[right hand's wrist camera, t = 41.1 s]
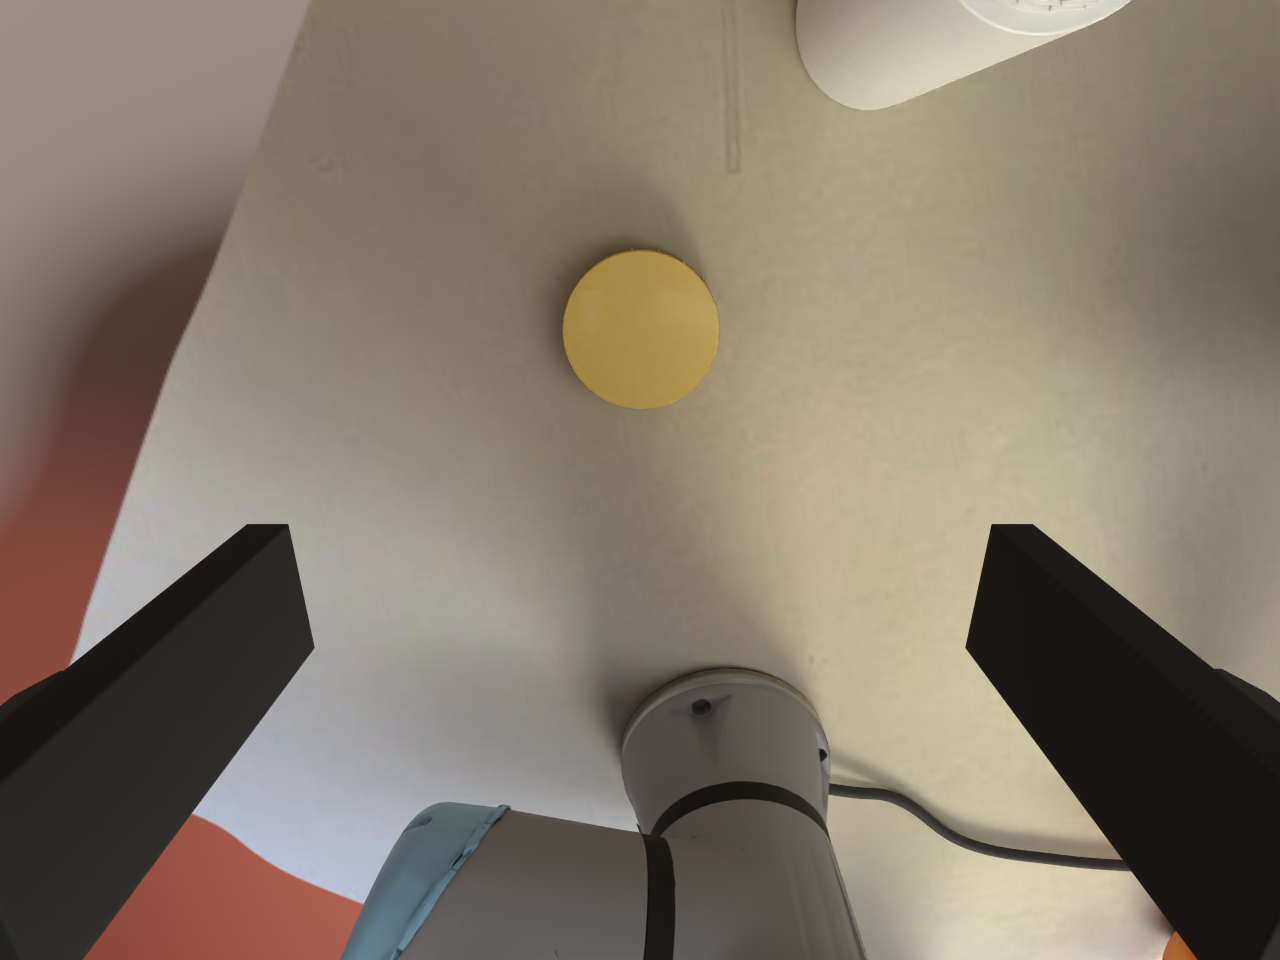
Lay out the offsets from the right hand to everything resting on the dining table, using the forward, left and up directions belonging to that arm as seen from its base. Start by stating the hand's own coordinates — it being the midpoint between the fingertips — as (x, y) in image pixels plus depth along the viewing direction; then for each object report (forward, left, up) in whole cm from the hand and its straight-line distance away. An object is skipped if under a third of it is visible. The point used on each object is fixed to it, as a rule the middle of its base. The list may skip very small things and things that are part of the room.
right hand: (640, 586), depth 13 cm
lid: (0, 0, -27) cm, 27 cm away
